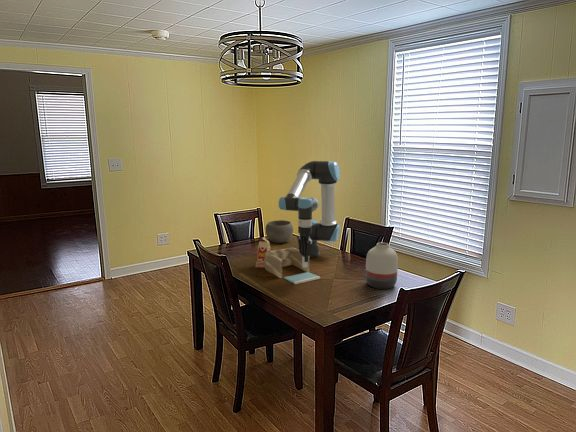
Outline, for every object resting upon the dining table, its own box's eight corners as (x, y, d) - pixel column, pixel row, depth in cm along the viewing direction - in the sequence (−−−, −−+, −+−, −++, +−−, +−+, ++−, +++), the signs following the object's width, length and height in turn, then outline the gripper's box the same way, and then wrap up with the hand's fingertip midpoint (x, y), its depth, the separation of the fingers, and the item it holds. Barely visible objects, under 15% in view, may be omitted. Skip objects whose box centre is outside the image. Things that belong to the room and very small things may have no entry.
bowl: (263, 244, 316) (262, 224, 313) (268, 237, 337) (268, 219, 333) (290, 246, 313) (290, 226, 310) (295, 238, 333) (295, 220, 330)
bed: (293, 265, 269) (293, 247, 266) (309, 273, 254) (309, 254, 251) (265, 271, 258) (265, 252, 256) (280, 280, 243) (280, 259, 241)
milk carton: (269, 270, 260) (269, 238, 256) (254, 269, 262) (254, 237, 258) (272, 265, 269) (272, 234, 265) (258, 264, 271) (258, 233, 267)
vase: (390, 293, 224) (392, 250, 219) (360, 287, 233) (362, 245, 228) (400, 283, 238) (403, 242, 233) (371, 278, 247) (373, 238, 242)
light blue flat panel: (308, 271, 252) (320, 276, 242) (308, 273, 253) (320, 278, 242) (282, 276, 243) (294, 282, 232) (282, 279, 243) (294, 284, 233)
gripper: (292, 224, 237) (293, 264, 242) (306, 229, 226) (305, 271, 232) (304, 222, 241) (304, 262, 246) (317, 227, 230) (317, 269, 235)
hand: (304, 266), depth 239 cm, fingers closed
